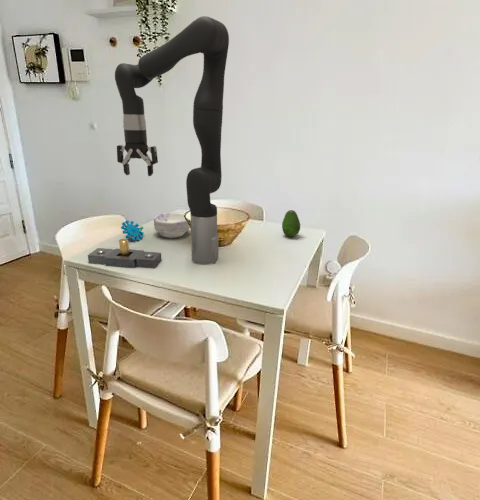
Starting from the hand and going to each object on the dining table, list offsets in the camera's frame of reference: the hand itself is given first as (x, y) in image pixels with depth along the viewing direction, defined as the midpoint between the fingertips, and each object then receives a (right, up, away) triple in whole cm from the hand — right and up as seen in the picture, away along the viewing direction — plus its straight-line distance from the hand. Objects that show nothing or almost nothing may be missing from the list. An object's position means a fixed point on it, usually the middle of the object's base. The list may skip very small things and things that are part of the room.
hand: (138, 175), depth 130 cm
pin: (-4, -31, -3) cm, 32 cm away
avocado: (+59, -22, +26) cm, 68 cm away
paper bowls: (+8, -21, +25) cm, 34 cm away
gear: (-7, -23, +19) cm, 31 cm away
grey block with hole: (-4, -31, -3) cm, 32 cm away
